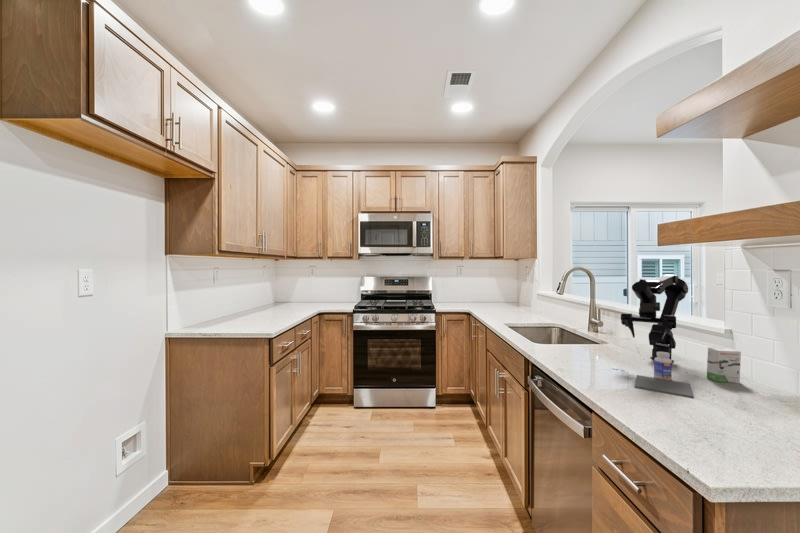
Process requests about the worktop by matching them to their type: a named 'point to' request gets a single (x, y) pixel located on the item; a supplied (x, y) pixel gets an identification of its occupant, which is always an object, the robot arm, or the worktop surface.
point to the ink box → (723, 364)
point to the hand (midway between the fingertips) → (647, 338)
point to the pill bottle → (663, 366)
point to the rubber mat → (664, 386)
